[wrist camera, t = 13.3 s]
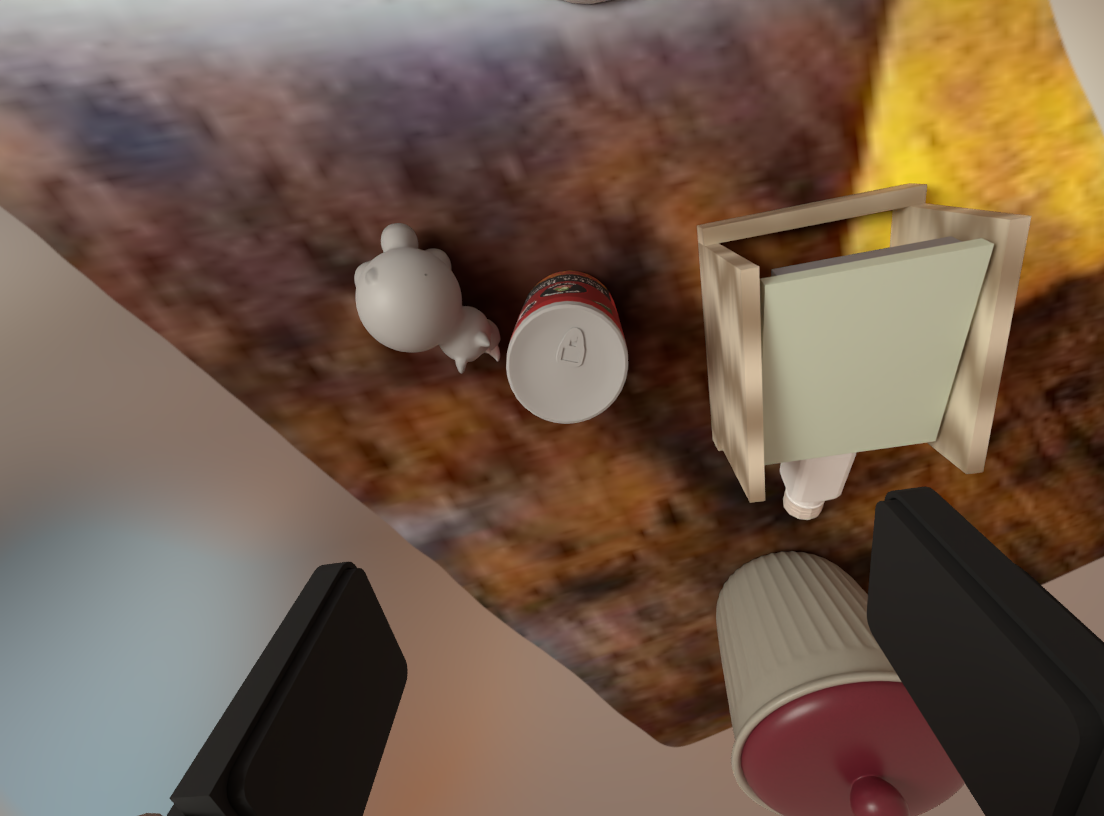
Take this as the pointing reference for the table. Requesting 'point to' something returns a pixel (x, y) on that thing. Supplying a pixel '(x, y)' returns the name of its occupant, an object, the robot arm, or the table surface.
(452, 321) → the chubby cartoon animal
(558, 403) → the canned food
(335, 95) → the table surface
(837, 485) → the pepper shaker
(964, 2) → the table surface
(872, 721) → the canister
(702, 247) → the stand
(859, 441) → the trapdoor
